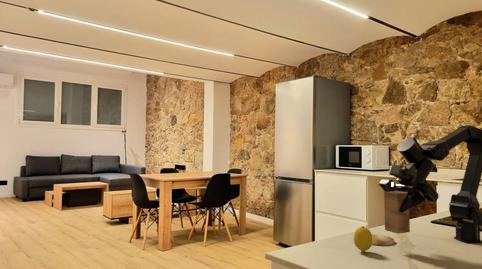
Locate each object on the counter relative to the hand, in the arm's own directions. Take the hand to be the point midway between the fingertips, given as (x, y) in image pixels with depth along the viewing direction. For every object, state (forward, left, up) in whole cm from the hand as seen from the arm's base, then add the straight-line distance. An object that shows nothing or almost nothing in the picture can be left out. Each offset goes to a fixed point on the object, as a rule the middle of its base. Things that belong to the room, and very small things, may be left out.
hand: (393, 210), depth 109 cm
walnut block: (-1, 0, -7) cm, 7 cm away
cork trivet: (0, -13, -13) cm, 18 cm away
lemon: (+10, -1, -13) cm, 16 cm away
